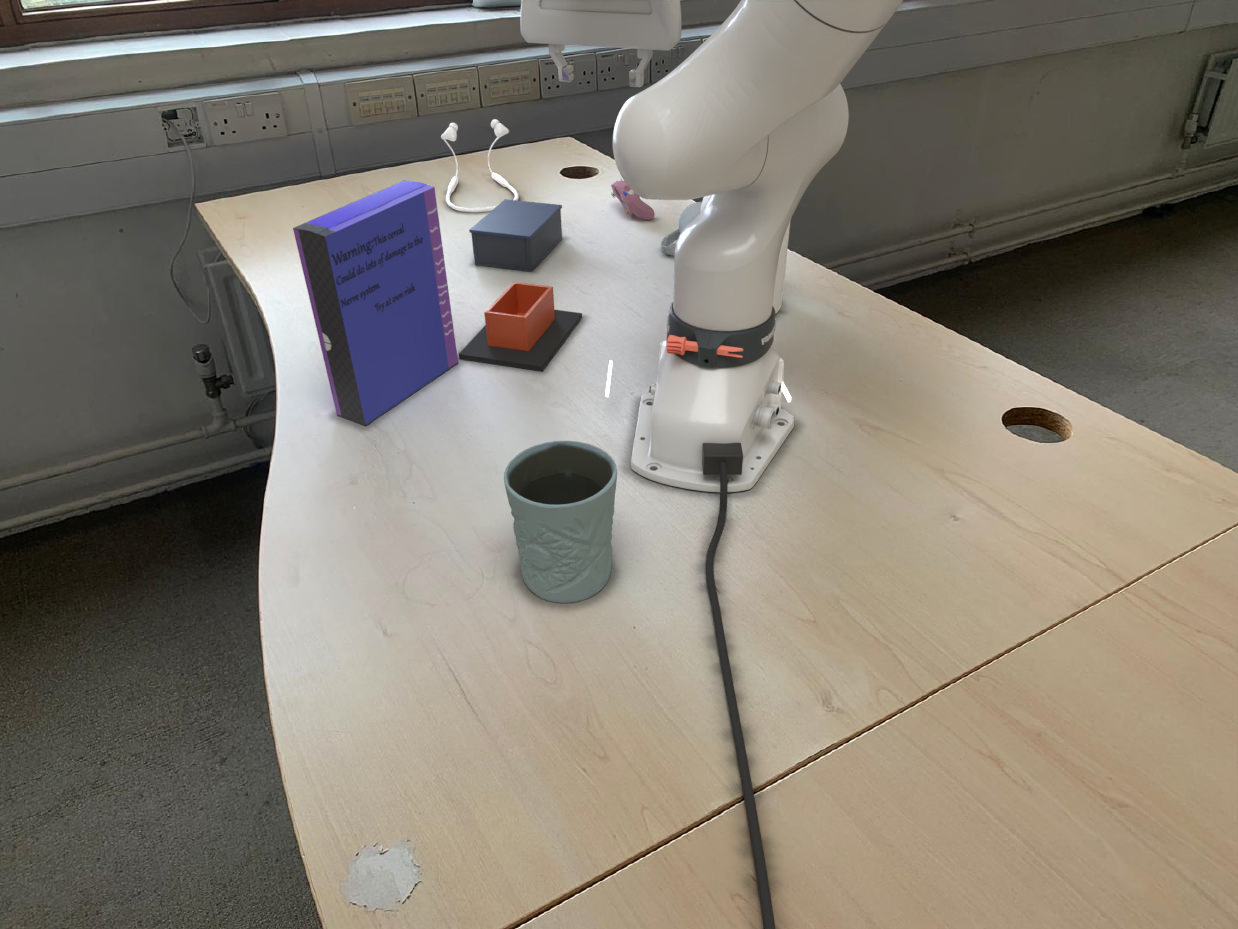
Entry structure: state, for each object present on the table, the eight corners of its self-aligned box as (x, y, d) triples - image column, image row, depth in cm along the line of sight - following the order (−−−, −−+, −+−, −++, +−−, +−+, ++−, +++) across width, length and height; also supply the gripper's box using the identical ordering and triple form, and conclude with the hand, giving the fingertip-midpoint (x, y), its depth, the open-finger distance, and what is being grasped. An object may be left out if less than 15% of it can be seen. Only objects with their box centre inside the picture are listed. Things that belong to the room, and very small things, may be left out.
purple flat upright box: (430, 354, 122) (403, 178, 108) (458, 363, 120) (434, 185, 106) (336, 415, 110) (292, 226, 96) (365, 426, 108) (324, 234, 94)
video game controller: (619, 212, 168) (602, 181, 164) (640, 199, 168) (624, 167, 164) (636, 231, 161) (619, 199, 156) (658, 217, 160) (641, 184, 156)
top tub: (528, 351, 121) (526, 318, 118) (487, 345, 122) (484, 312, 119) (555, 318, 128) (553, 286, 125) (516, 313, 130) (513, 281, 127)
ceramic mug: (718, 238, 153) (719, 194, 149) (730, 257, 147) (732, 211, 142) (657, 244, 152) (656, 199, 148) (666, 263, 146) (666, 217, 141)
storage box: (532, 272, 143) (530, 236, 140) (473, 265, 146) (469, 229, 142) (563, 239, 154) (562, 204, 151) (507, 232, 157) (504, 199, 153)
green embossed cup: (525, 617, 82) (515, 515, 75) (505, 547, 90) (494, 449, 83) (631, 594, 84) (631, 493, 77) (603, 528, 92) (600, 430, 85)
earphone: (504, 152, 181) (510, 110, 163) (518, 232, 180) (525, 198, 162) (436, 158, 178) (435, 116, 161) (450, 239, 177) (449, 206, 160)
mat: (542, 371, 118) (542, 366, 117) (459, 359, 121) (458, 353, 120) (582, 318, 130) (582, 312, 130) (505, 307, 133) (505, 302, 133)
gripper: (507, -39, 107) (516, 84, 115) (673, -33, 102) (670, 94, 110) (527, -46, 112) (534, 72, 120) (686, -41, 107) (683, 82, 115)
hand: (601, 83), depth 115 cm, fingers open, 8 cm apart
